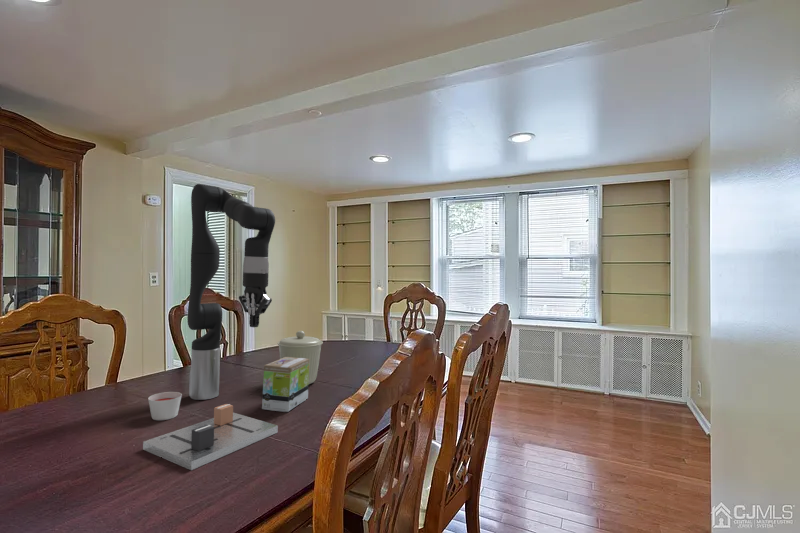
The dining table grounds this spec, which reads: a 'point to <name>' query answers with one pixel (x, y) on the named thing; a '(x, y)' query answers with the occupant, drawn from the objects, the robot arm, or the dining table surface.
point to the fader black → (202, 437)
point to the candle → (164, 405)
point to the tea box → (285, 383)
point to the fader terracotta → (223, 414)
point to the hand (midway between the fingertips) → (254, 326)
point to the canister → (302, 351)
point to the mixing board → (225, 441)
